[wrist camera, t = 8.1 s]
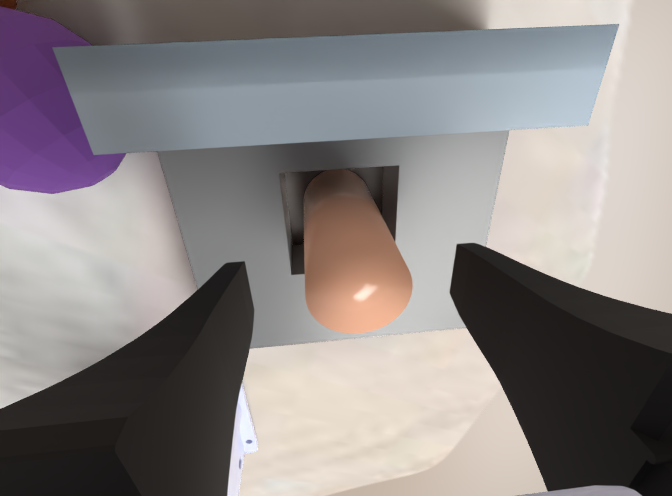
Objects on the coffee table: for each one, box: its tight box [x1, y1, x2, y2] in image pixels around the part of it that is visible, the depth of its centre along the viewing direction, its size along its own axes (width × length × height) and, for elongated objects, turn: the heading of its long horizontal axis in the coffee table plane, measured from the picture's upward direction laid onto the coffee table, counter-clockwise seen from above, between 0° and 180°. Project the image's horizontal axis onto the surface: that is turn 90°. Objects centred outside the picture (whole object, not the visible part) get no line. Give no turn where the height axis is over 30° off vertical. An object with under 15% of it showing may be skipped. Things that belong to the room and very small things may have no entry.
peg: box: [304, 169, 413, 334], centre depth 14 cm, size 4×4×8 cm
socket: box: [52, 24, 619, 349], centre depth 15 cm, size 14×14×7 cm
